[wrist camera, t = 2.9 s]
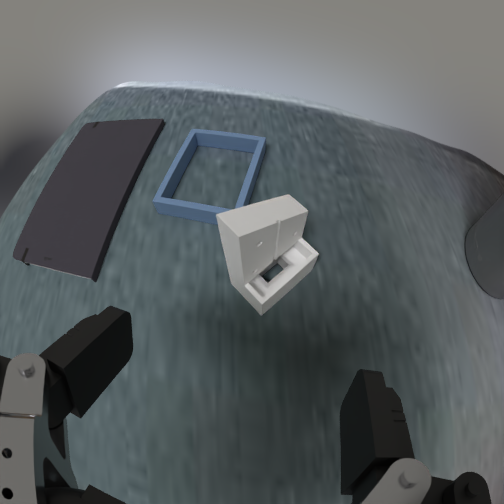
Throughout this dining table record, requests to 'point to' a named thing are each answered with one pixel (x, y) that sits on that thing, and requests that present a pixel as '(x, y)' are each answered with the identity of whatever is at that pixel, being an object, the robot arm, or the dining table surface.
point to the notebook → (87, 197)
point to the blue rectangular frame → (182, 160)
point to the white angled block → (266, 248)
